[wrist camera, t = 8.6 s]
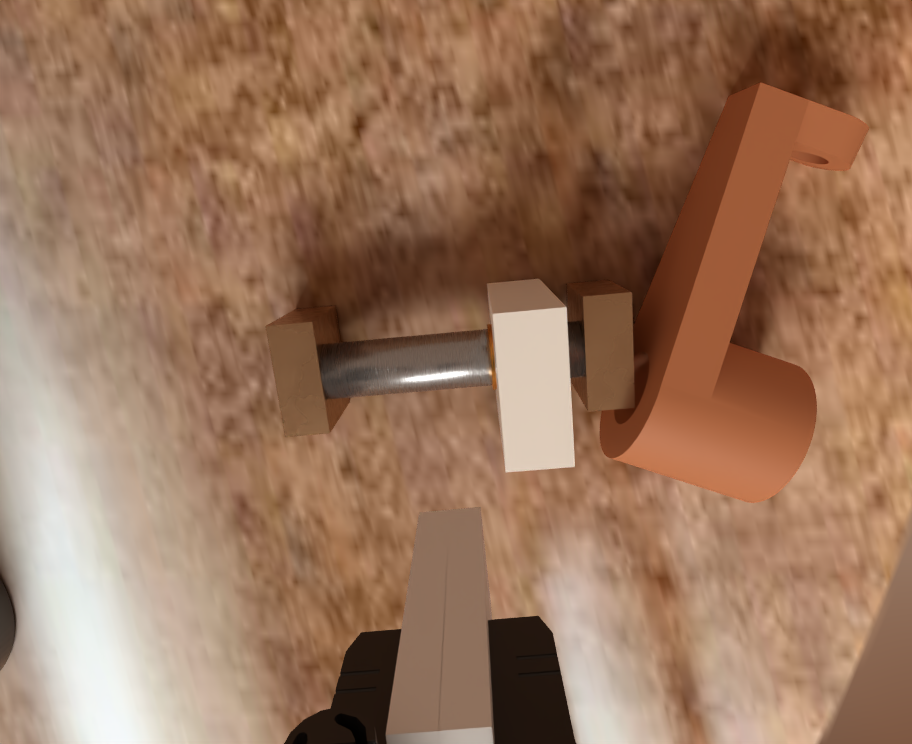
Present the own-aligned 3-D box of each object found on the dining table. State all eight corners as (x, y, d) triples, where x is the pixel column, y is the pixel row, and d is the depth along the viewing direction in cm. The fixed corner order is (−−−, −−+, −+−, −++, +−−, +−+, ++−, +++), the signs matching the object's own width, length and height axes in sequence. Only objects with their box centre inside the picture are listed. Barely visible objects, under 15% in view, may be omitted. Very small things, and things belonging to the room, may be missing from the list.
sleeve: (496, 399, 37) (505, 472, 27) (486, 283, 35) (492, 313, 25) (546, 395, 37) (574, 466, 27) (539, 278, 35) (566, 307, 25)
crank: (708, 466, 39) (767, 529, 31) (590, 427, 38) (620, 482, 31) (860, 145, 34) (976, 127, 26) (727, 96, 33) (804, 63, 26)
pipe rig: (311, 405, 38) (283, 438, 32) (295, 309, 36) (263, 327, 31) (611, 379, 37) (636, 409, 32) (608, 279, 36) (633, 292, 30)
